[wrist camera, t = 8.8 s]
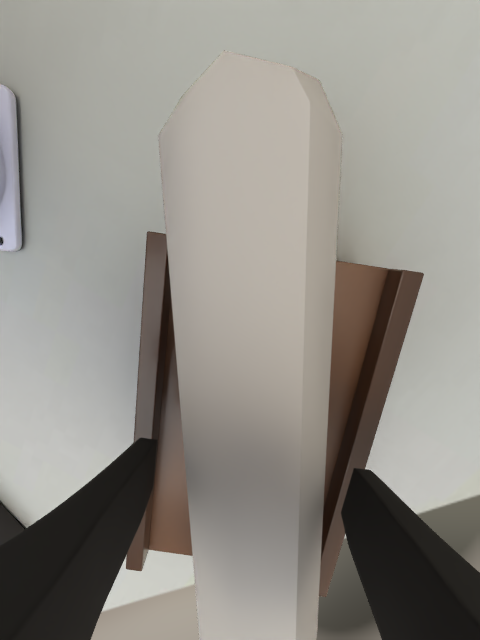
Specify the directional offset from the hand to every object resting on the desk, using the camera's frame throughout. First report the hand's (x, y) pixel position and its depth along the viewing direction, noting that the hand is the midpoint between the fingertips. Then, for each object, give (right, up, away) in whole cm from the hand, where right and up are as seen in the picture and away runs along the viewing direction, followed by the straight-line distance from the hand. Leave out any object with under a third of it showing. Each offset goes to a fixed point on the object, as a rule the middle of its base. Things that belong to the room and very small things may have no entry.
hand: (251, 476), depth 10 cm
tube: (0, +1, +3) cm, 3 cm away
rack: (0, +2, +7) cm, 8 cm away
